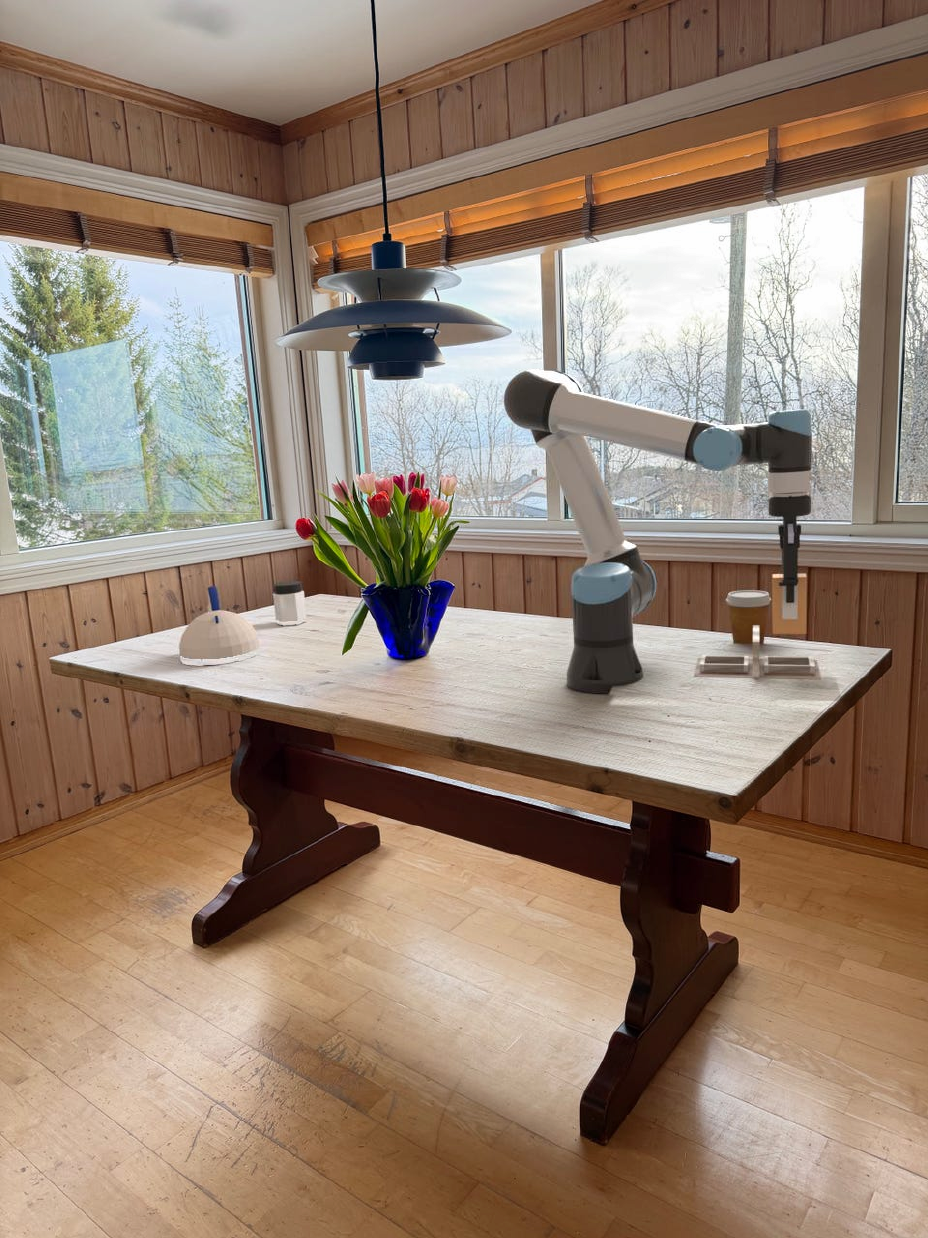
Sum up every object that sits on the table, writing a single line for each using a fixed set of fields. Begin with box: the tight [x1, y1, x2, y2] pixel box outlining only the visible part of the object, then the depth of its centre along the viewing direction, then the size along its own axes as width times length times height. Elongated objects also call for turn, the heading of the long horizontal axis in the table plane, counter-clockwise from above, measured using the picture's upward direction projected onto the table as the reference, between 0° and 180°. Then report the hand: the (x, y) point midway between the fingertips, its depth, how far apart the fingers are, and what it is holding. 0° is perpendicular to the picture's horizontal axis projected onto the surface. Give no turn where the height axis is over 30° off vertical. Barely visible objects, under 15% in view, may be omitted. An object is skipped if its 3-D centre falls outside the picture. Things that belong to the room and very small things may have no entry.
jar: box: [272, 580, 308, 622], centre depth 254 cm, size 9×8×12 cm
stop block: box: [772, 573, 808, 635], centre depth 167 cm, size 4×6×11 cm, turn 72°
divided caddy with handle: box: [693, 625, 822, 680], centre depth 171 cm, size 14×23×8 cm, turn 72°
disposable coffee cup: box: [725, 589, 772, 645], centre depth 193 cm, size 10×10×12 cm
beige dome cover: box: [178, 585, 261, 660], centre depth 219 cm, size 20×21×18 cm
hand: (789, 615), depth 167 cm, fingers closed on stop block, 4 cm apart
